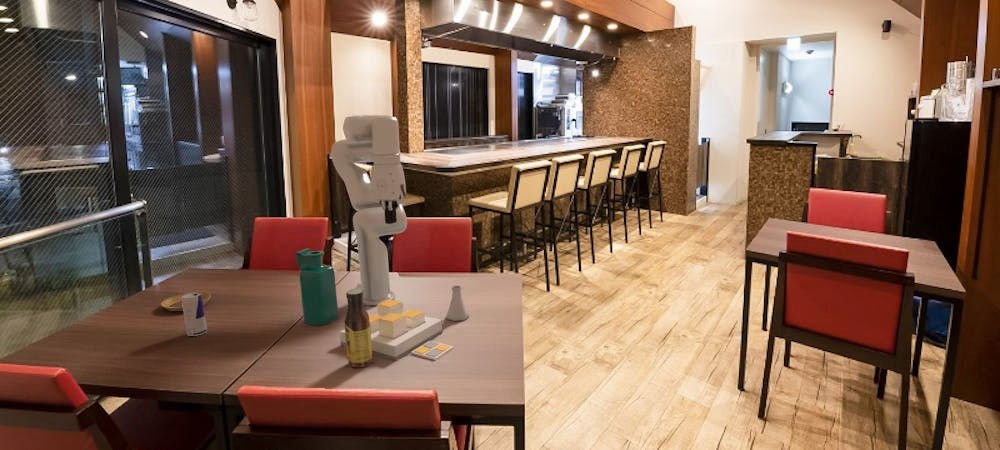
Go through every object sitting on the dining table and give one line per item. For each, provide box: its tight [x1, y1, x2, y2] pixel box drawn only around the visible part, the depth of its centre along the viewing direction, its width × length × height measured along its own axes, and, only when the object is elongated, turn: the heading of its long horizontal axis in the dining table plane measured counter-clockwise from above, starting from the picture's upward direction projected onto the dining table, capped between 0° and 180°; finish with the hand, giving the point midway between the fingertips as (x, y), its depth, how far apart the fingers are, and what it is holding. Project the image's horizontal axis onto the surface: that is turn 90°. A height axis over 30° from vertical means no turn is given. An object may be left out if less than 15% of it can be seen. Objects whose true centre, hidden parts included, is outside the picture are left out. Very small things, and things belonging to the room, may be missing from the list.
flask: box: [446, 284, 470, 322], centre depth 170 cm, size 7×7×10 cm
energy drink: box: [181, 291, 208, 337], centre depth 161 cm, size 5×5×12 cm
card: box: [410, 340, 454, 361], centre depth 148 cm, size 8×8×1 cm
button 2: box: [376, 299, 404, 317], centre depth 160 cm, size 5×5×5 cm
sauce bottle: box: [343, 288, 373, 368], centre depth 139 cm, size 6×6×20 cm
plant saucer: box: [160, 291, 212, 312], centre depth 186 cm, size 15×15×3 cm
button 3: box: [378, 313, 407, 340], centre depth 150 cm, size 5×5×5 cm
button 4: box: [400, 308, 426, 329], centre depth 157 cm, size 5×5×5 cm
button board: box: [339, 310, 443, 361], centre depth 156 cm, size 20×20×4 cm
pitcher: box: [294, 248, 339, 326], centre depth 169 cm, size 10×8×22 cm
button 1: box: [368, 313, 383, 334], centre depth 154 cm, size 5×5×5 cm
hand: (391, 222), depth 161 cm, fingers closed
